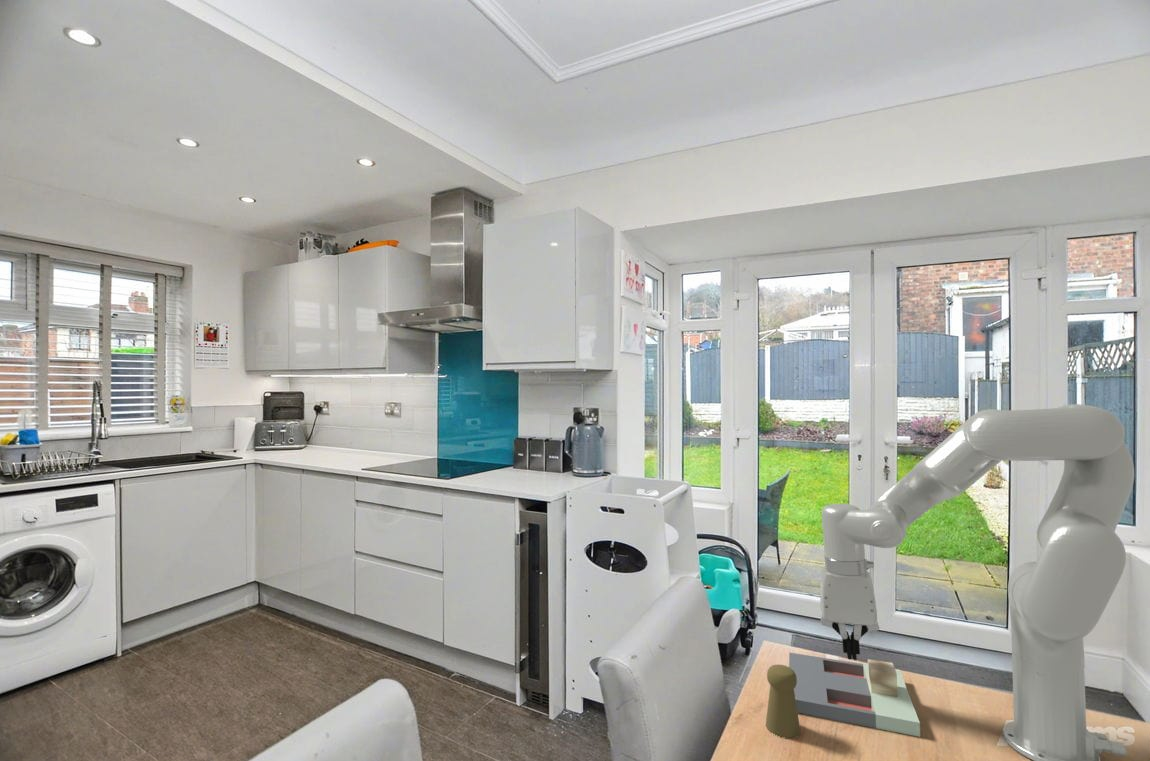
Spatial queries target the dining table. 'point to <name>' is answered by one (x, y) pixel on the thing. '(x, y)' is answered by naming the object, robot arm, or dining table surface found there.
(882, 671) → the beech block
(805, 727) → the dining table surface
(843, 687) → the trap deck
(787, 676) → the olive pawn
